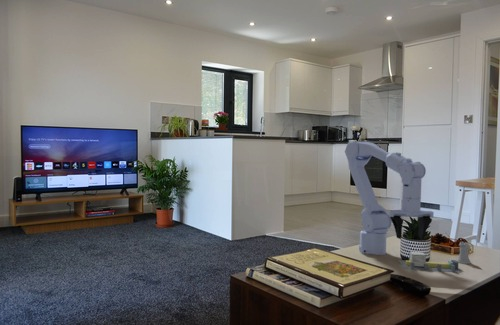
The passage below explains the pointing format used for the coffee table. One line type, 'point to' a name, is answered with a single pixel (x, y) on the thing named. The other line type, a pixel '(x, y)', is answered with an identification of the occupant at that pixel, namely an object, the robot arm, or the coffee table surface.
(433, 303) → the coffee table surface
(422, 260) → the sleeve
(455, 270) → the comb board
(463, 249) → the rook chess piece
